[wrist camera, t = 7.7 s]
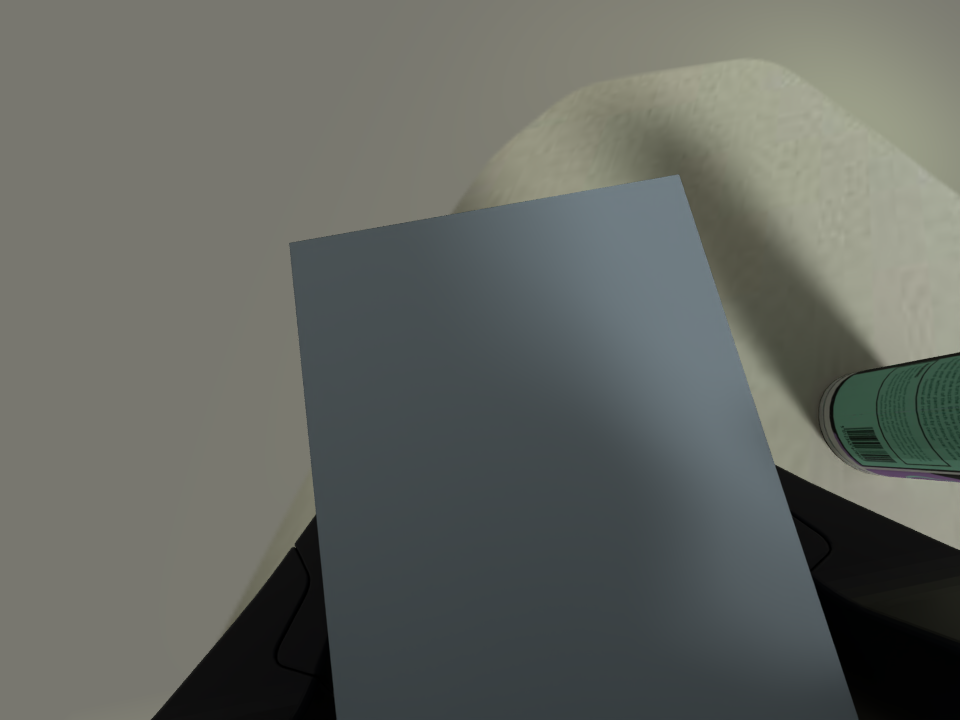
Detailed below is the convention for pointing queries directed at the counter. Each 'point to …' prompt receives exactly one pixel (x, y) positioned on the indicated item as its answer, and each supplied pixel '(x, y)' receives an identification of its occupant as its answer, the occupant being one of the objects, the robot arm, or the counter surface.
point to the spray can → (897, 419)
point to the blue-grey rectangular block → (549, 474)
